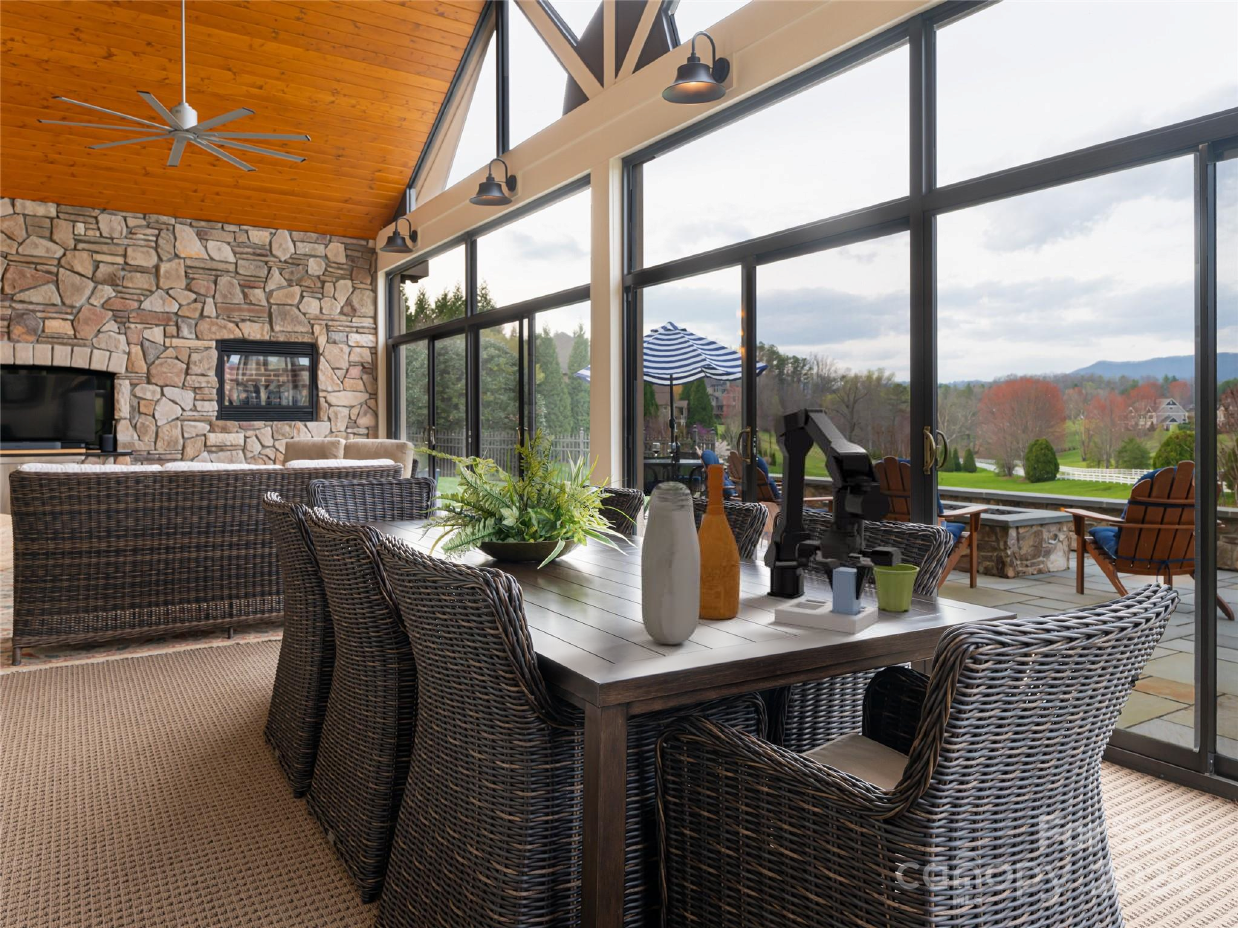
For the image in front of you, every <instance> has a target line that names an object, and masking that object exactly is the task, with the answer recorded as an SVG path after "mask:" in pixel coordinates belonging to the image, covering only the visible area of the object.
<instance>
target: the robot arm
mask: <svg viewBox="0 0 1238 928" xmlns="http://www.w3.org/2000/svg"><path fill="white" fill-rule="evenodd" d="M773 427H774V428H773V429H774V434H775V444H776V445H777V447H778V449H779V451H780V452H781V455H782V471H781V497H780V519H779V521H778V524H777V525H776V526H775V528H773V531H772V534H771V540H770V542H769V545H768V547H767V549H766V551H765V553H764V554H763V563H764V566H765V567H767V568H768V569H769V573H770V575H769V576H770V577H769V578H770V579H769V591H767V592H766V595H768V596H774V597H782V598H789V599H794V598H795V599H796V598H797V597H800V596H802V595H805V594H806V591H804V590H805V574H804V573H803V568H805V569H808V568H809V564H810V561H811V559H812V558H813V557H814V556H815V559H816V560H814V564H817V565H819V566H820V567H821V568H822V569H823V571H824V573H825V576H826V578H827V580H828V583H829V585H830V589H831V592H832V593H833V570H835V569H837V568H840V562H844V561H846V560H847V559H855V560H859V561H860V563H858V564H856V565H855V569H856V570H857V581H856V600H859V599H860V597H862V594H863V592H864V590H865V587H866V585H867V582H868V581H869V578H870V577H871V575H872V573H873V570H874V568H876V567H879V566H886V567H893V566H895V565H897V564H902V553H901V550H900V549H899V548H898V547H890V546H888V547H887V546H877V547H875V548H872V549H865V548H866V542H864V532H865V529H864V527H866V524H867V522H870V523H880V522H882V521H884V520H885V519H886V518H887V516H889V513H890V510H891V502H890V500H889V497H888V496H887V495H886V493H884V492H883V491H881V484H880V482H879V480H880V478H879V475H878V473H877V471H876V469H875V466H874V464H873V460H872V459H871V457H870V454H869V453H868V451H866V449H864V448H863V447H861V446H860V445H859V444H856V443H853V442H850V441H848V440H847V439H846V438H845V436H844V435H843V434H842V433H841V432H840V431H839V429H838V428H837V427H836V426H835V425H834V423H833V422H832V421H831V419H830V418H829V417H828V414H827V411H826V409H824V408H821V407H803V408H801V409H799V410H797V411H795V412H792V413H791V412H790V413H788V414H785V415H781V416H780V417H779V418H778V419H777V420H776V421H775V423H774V426H773ZM815 443H816V445H817V446H818V448H819V449H820V451H821V452H822V453H823V455H824V456H825V461H824V467H825V469H826V472H827V473H828V475H829V477H830V478H831V480H832V482H833V483H831V484H830V486H829V487H828V490H830V491H832V519H831V521H830V522H829V526H828V527H829V529H828V532H827V533H826V534H825V535H824V536H823V537H822V539H820V540H811V539H812V535H811V532H809V531H808V530H807V529H806V526H805V525H804V501H805V482H806V481H805V480H806V479H805V478H806V459H807V456H808V454H809V453H810V451H811V450H812V448H813V447H814V445H815Z"/></svg>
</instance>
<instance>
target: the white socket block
mask: <svg viewBox="0 0 1238 928" xmlns="http://www.w3.org/2000/svg"><path fill="white" fill-rule="evenodd" d="M832 603H833V601H832V602H831V601H823V600H815V599H808V598H797V599H795V600H793V601H790V602H788V603H786V604H785V603H784V604H783V605H780V606H778V607H776V608H774V622H775V623H782V624H787V625H794V626H795V625H796V626H801V627H802V626H803V627H809V628H815V629H821V630H829V631H835V632H842V633H847V634H858V633H859V632H862V631H863V630H865V629H867V628H869V627H870V626H872V625H874V624H876V623H877V622H879V607H870V606H862V605H861V608H860V614H858V615H856V616H853V615H845V614H838V613H832Z"/></svg>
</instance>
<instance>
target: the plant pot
mask: <svg viewBox="0 0 1238 928" xmlns="http://www.w3.org/2000/svg"><path fill="white" fill-rule="evenodd" d="M919 571H920V567H918V566H915V565H911V564H906V563H900V564H897V565H895V566H893V567H886V566H879V567H876V568H874V570H873V572H872V573H873V576H874V581H875V587H876V595H877V596H876V597H877V603H878V609H880V610H886V611H887V612H898V613H901V612H904V611H910V609H911V605H912V604H911V602H912V597H913V590H914V584H915V579H916V578H917V574H918V572H919Z"/></svg>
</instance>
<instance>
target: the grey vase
mask: <svg viewBox="0 0 1238 928" xmlns="http://www.w3.org/2000/svg"><path fill="white" fill-rule="evenodd" d="M689 489H690V488H688V486H687V485H685V484H683V483H681V482H678V481H664V482H663V481H662V482H661V483H659V484H657V485H656V486H655V487H654V488H653V489H652V491H651V493H650V497H649V505H648V506H649V507H648V513H647V521H646V526H645V531H644V536H643V540H642V546H641V556H640V557H641V558H640V561H641V562H640V563H641V565H640V568H641V569H640V572H641V573H640V574H641V575H640V576H641V578H640V581H641V616H642V617H641V618H642V624H643V627H644V629H645V631H646V633H647V634H648V635H649V636H650V638H651V639H652V640H653V641H656V642H658V643H660V644H662V645H670V646H671V645H672V646H673V645H679V644H680V645H681V644H682V643H685V642H686V641H688V640H689V639H690V638H692V635H694V633H695V631H696V629H697V627H698V624H699V618H700V617H699V598H700V547H699V541H698V536H697V534H698V531H697V527H696V522H695V521H696V520H695V516H694V503H693V496H692V493H691V490H689Z"/></svg>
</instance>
